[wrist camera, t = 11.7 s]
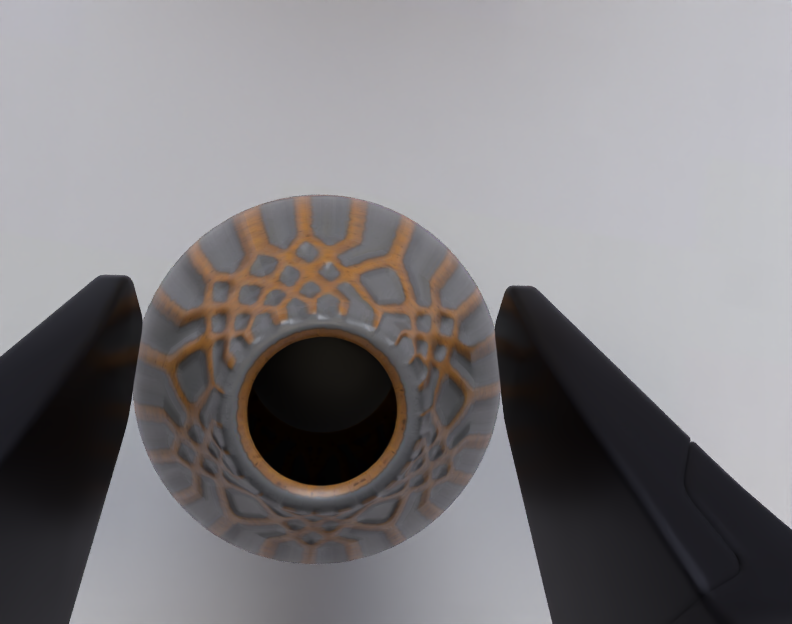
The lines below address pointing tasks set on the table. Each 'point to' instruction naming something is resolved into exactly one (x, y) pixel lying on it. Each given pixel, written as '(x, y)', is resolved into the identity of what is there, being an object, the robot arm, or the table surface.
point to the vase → (317, 379)
